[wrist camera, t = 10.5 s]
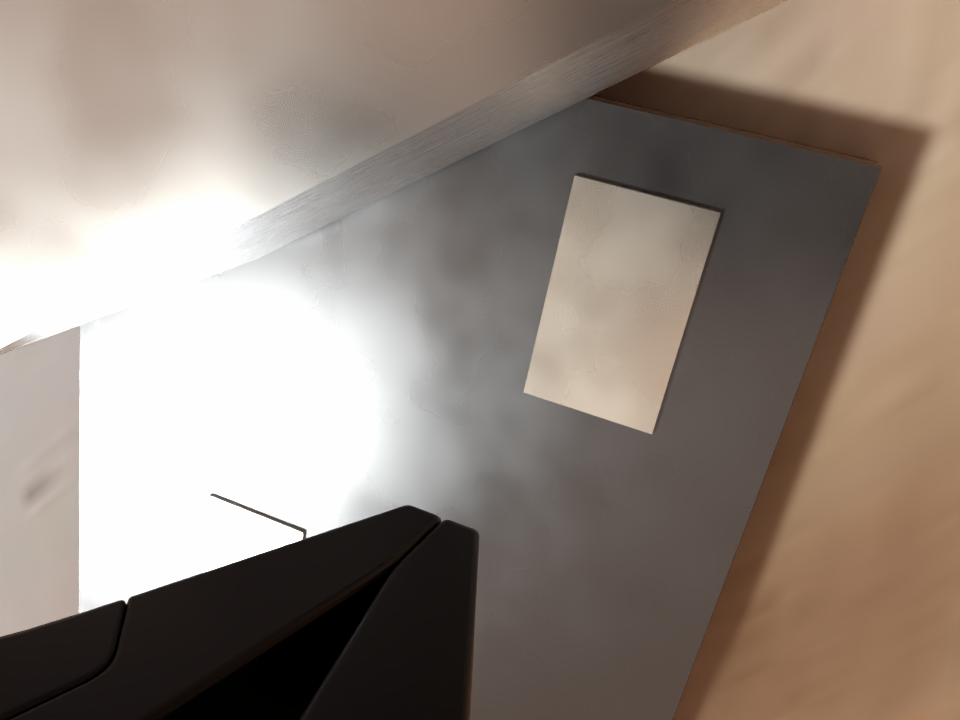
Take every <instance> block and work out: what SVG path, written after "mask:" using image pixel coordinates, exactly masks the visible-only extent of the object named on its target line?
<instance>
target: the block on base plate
mask: <svg viewBox="0 0 960 720" xmlns="http://www.w3.org/2000/svg"><path fill="white" fill-rule="evenodd" d="M880 170H881V167H880V165H879V164H878V163H877V162H876V161H872V160H867V159H863V158H859V157H854V156H850V155H846V154H841V153H837V152H833V151H829V150H824V149H820V148H816V147H811V146H807V145H803V144H799V143H794V142H790V141H786V140H781V139H777V138H773V137H768V136H764V135H760V134H756V133H751V132H747V131H743V130H738V129H734V128H730V127H726V126H721V125H717V124H713V123H708V122H704V121H700V120H696V119H691V118H687V117H683V116H678V115H674V114H670V113H665V112H661V111H657V110H653V109H648V108H644V107H640V106H635V105H631V104H627V103H623V102H618V101H614V100H610V99H605V98H601V97H597V96H593V95H592V96H590V97H588V98H586V99H584V100H582V101H580V102H577V103H575V104H573V105H571V106H569V107H567V108H565V109H563V110H561V111H559V112H557V113H555V114H553V115H551V116H549V117H547V118H545V119H543V120H541V121H538V122H536V123H534V124H532V125H530V126H528V127H526V128H524V129H522V130H520V131H518V132H516V133H514V134H512V135H510V136H508V137H506V138H504V139H502V140H500V141H497V142H495V143H493V144H491V145H489V146H487V147H485V148H483V149H481V150H479V151H477V152H475V153H473V154H471V155H469V156H467V157H465V158H463V159H461V160H458V161H456V162H454V163H452V164H450V165H448V166H446V167H444V168H442V169H440V170H438V171H436V172H434V173H432V174H430V175H428V176H426V177H424V178H422V179H420V180H417V181H415V182H413V183H411V184H409V185H407V186H405V187H403V188H401V189H399V190H397V191H395V192H393V193H391V194H389V195H387V196H385V197H383V198H381V199H378V200H376V201H374V202H372V203H370V204H368V205H366V206H364V207H362V208H360V209H358V210H356V211H354V212H352V213H350V214H348V215H346V216H344V217H342V218H340V219H337V220H335V221H333V222H331V223H329V224H327V225H325V226H323V227H321V228H319V229H317V230H315V231H313V232H311V233H309V234H307V235H305V236H303V237H301V238H298V239H296V240H294V241H292V242H290V243H288V244H286V245H284V246H282V247H280V248H278V249H276V250H274V251H272V252H270V253H268V254H266V255H264V256H262V257H259V258H257V259H255V260H253V261H250V262H248V263H245V264H242V265H239V266H237V267H234V268H231V269H229V270H226V271H223V272H221V273H218V274H215V275H213V276H210V277H207V278H205V279H202V280H199V281H197V282H194V283H191V284H189V285H186V286H183V287H181V288H178V289H175V290H172V291H170V292H167V293H164V294H162V295H159V296H156V297H154V298H151V299H148V300H146V301H143V302H140V303H138V304H135V305H132V306H130V307H127V308H124V309H122V310H119V311H116V312H114V313H111V314H108V315H105V316H103V317H100V318H97V319H95V320H92V321H89V322H87V323H84V324H81V325H80V466H79V613H82V612H85V611H88V610H91V609H94V608H97V607H100V606H103V605H106V604H109V603H112V602H115V601H118V600H124V601H125V602H126V604H127V601H128V599H129V598H130V597H131V596H134V595H137V594H140V593H143V592H146V591H149V590H152V589H155V588H158V587H161V586H164V585H167V584H170V583H173V582H176V581H179V580H182V579H185V578H188V577H191V576H194V575H197V574H200V573H203V572H206V571H209V570H212V569H215V568H218V567H221V566H224V565H227V564H230V563H233V562H236V561H239V560H242V559H245V558H248V557H251V556H254V555H257V554H260V553H263V552H266V551H269V550H272V549H275V548H278V547H281V546H284V545H287V544H290V543H293V542H296V541H299V540H302V539H305V538H308V537H311V536H314V535H317V534H320V533H323V532H326V531H329V530H332V529H335V528H338V527H341V526H344V525H347V524H350V523H353V522H356V521H359V520H362V519H365V518H368V517H371V516H374V515H377V514H380V513H383V512H386V511H389V510H392V509H395V508H398V507H401V506H405V505H411V506H414V507H417V508H419V509H422V510H425V511H427V512H430V513H432V514H435V515H437V516H439V517H440V518H441V521H443V520H451V521H454V522H457V523H459V524H462V525H465V526H467V527H470V528H473V529H475V530H477V531H478V533H479V554H478V573H477V593H476V612H475V632H474V651H473V671H472V690H471V710H470V720H673V717H674V714H675V712H676V709H677V706H678V704H679V701H680V698H681V696H682V693H683V690H684V688H685V685H686V683H687V680H688V677H689V675H690V672H691V669H692V667H693V664H694V661H695V659H696V656H697V653H698V651H699V648H700V646H701V643H702V640H703V638H704V635H705V632H706V630H707V627H708V624H709V622H710V619H711V616H712V614H713V611H714V609H715V606H716V603H717V601H718V598H719V595H720V593H721V590H722V587H723V585H724V582H725V579H726V577H727V574H728V572H729V569H730V566H731V564H732V561H733V558H734V556H735V553H736V550H737V548H738V545H739V542H740V540H741V537H742V535H743V532H744V529H745V527H746V524H747V521H748V519H749V516H750V513H751V511H752V508H753V505H754V503H755V500H756V498H757V495H758V492H759V490H760V487H761V484H762V482H763V479H764V476H765V474H766V471H767V468H768V466H769V463H770V460H771V458H772V455H773V453H774V450H775V447H776V445H777V442H778V439H779V437H780V434H781V431H782V429H783V426H784V423H785V421H786V418H787V416H788V413H789V410H790V408H791V405H792V402H793V400H794V397H795V394H796V392H797V389H798V386H799V384H800V381H801V379H802V376H803V373H804V371H805V368H806V365H807V363H808V360H809V357H810V355H811V352H812V349H813V347H814V344H815V342H816V339H817V336H818V334H819V331H820V328H821V326H822V323H823V320H824V318H825V315H826V312H827V310H828V307H829V305H830V302H831V299H832V297H833V294H834V291H835V289H836V286H837V283H838V281H839V278H840V275H841V273H842V270H843V268H844V265H845V262H846V260H847V257H848V254H849V252H850V249H851V246H852V244H853V241H854V238H855V236H856V233H857V230H858V228H859V225H860V223H861V220H862V217H863V215H864V212H865V209H866V207H867V204H868V201H869V199H870V196H871V193H872V191H873V188H874V186H875V183H876V180H877V178H878V175H879V172H880Z"/></svg>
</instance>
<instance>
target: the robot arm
mask: <svg viewBox="0 0 960 720" xmlns="http://www.w3.org/2000/svg"><path fill="white" fill-rule="evenodd" d="M478 554H479V533H478V531H477V530H475V529H473V528H470V527H467V526H465V525H462V524H459V523H457V522H454V521H451V520H443V521H441V518H440V517H439V516H437V515H435V514H432V513H430V512H427V511H425V510H422V509H419V508H417V507H414V506H411V505H405V506H401V507H398V508H395V509H392V510H389V511H386V512H383V513H380V514H377V515H374V516H371V517H368V518H365V519H362V520H359V521H356V522H353V523H350V524H347V525H344V526H341V527H338V528H335V529H332V530H329V531H326V532H323V533H320V534H317V535H314V536H311V537H308V538H305V539H302V540H299V541H296V542H293V543H290V544H287V545H284V546H281V547H278V548H275V549H272V550H269V551H266V552H263V553H260V554H257V555H254V556H251V557H248V558H245V559H242V560H239V561H236V562H233V563H230V564H227V565H224V566H221V567H218V568H215V569H212V570H209V571H206V572H203V573H200V574H197V575H194V576H191V577H188V578H185V579H182V580H179V581H176V582H173V583H170V584H167V585H164V586H161V587H158V588H155V589H152V590H149V591H146V592H143V593H140V594H137V595H134V596H131V597H130V598H129V599H128V601H127V604H126V602H125V601H124V600H118V601H115V602H112V603H109V604H106V605H103V606H100V607H97V608H94V609H91V610H88V611H85V612H82V613H79V614H76V615H73V616H69V617H66V618H63V619H60V620H56V621H53V622H50V623H47V624H44V625H40V626H37V627H34V628H31V629H27V630H24V631H20V632H17V633H13V634H9V635H5V636H2V637H0V720H470V710H471V690H472V671H473V651H474V632H475V612H476V593H477V573H478Z"/></svg>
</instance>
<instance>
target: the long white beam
mask: <svg viewBox="0 0 960 720" xmlns="http://www.w3.org/2000/svg"><path fill="white" fill-rule="evenodd" d="M785 1H787V0H0V355H1V354H4V353H6V352H9V351H12V350H14V349H17V348H20V347H22V346H25V345H28V344H30V343H33V342H36V341H38V340H41V339H44V338H47V337H49V336H52V335H55V334H57V333H60V332H63V331H65V330H68V329H71V328H73V327H76V326H79V325H81V324H84V323H87V322H89V321H92V320H95V319H97V318H100V317H103V316H105V315H108V314H111V313H114V312H116V311H119V310H122V309H124V308H127V307H130V306H132V305H135V304H138V303H140V302H143V301H146V300H148V299H151V298H154V297H156V296H159V295H162V294H164V293H167V292H170V291H172V290H175V289H178V288H181V287H183V286H186V285H189V284H191V283H194V282H197V281H199V280H202V279H205V278H207V277H210V276H213V275H215V274H218V273H221V272H223V271H226V270H229V269H231V268H234V267H237V266H239V265H242V264H245V263H248V262H250V261H253V260H255V259H257V258H259V257H262V256H264V255H266V254H268V253H270V252H272V251H274V250H276V249H278V248H280V247H282V246H284V245H286V244H288V243H290V242H292V241H294V240H296V239H298V238H301V237H303V236H305V235H307V234H309V233H311V232H313V231H315V230H317V229H319V228H321V227H323V226H325V225H327V224H329V223H331V222H333V221H335V220H337V219H340V218H342V217H344V216H346V215H348V214H350V213H352V212H354V211H356V210H358V209H360V208H362V207H364V206H366V205H368V204H370V203H372V202H374V201H376V200H378V199H381V198H383V197H385V196H387V195H389V194H391V193H393V192H395V191H397V190H399V189H401V188H403V187H405V186H407V185H409V184H411V183H413V182H415V181H417V180H420V179H422V178H424V177H426V176H428V175H430V174H432V173H434V172H436V171H438V170H440V169H442V168H444V167H446V166H448V165H450V164H452V163H454V162H456V161H458V160H461V159H463V158H465V157H467V156H469V155H471V154H473V153H475V152H477V151H479V150H481V149H483V148H485V147H487V146H489V145H491V144H493V143H495V142H497V141H500V140H502V139H504V138H506V137H508V136H510V135H512V134H514V133H516V132H518V131H520V130H522V129H524V128H526V127H528V126H530V125H532V124H534V123H536V122H538V121H541V120H543V119H545V118H547V117H549V116H551V115H553V114H555V113H557V112H559V111H561V110H563V109H565V108H567V107H569V106H571V105H573V104H575V103H577V102H580V101H582V100H584V99H586V98H588V97H590V96H592V95H594V94H596V93H598V92H600V91H602V90H604V89H606V88H608V87H610V86H612V85H614V84H616V83H619V82H621V81H623V80H625V79H627V78H629V77H631V76H633V75H635V74H637V73H639V72H641V71H643V70H645V69H647V68H649V67H651V66H653V65H655V64H657V63H660V62H662V61H664V60H666V59H668V58H670V57H672V56H674V55H676V54H678V53H680V52H682V51H684V50H686V49H688V48H690V47H692V46H694V45H696V44H699V43H701V42H703V41H705V40H707V39H709V38H711V37H713V36H715V35H717V34H719V33H721V32H723V31H725V30H727V29H729V28H731V27H733V26H735V25H737V24H740V23H742V22H744V21H746V20H748V19H750V18H752V17H754V16H756V15H758V14H760V13H762V12H764V11H766V10H768V9H770V8H772V7H774V6H776V5H779V4H781V3H783V2H785Z"/></svg>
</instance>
